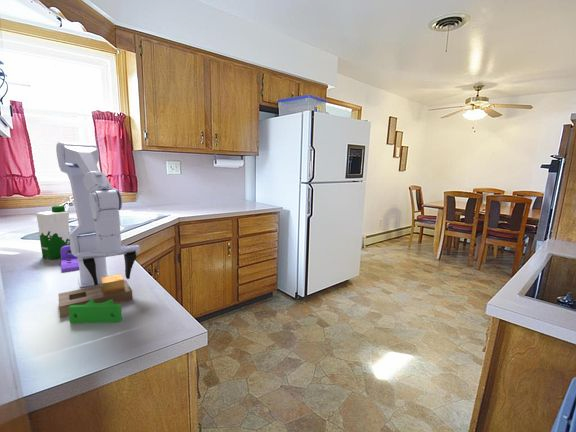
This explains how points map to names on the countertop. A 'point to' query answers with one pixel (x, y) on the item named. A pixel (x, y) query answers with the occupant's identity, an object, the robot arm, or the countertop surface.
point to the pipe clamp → (95, 312)
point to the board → (92, 297)
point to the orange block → (112, 283)
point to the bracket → (68, 260)
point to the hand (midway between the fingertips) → (112, 281)
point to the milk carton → (53, 231)
